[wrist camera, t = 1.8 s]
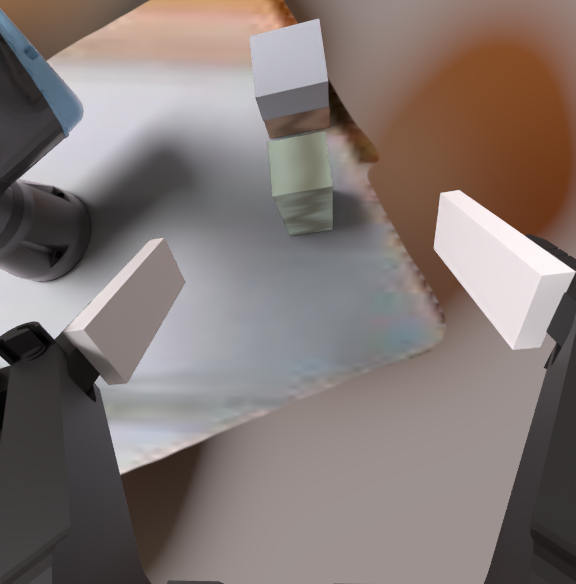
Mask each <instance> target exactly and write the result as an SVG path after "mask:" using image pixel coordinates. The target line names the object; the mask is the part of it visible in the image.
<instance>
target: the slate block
mask: <svg viewBox="0 0 576 584" xmlns="http://www.w3.org/2000/svg"><path fill="white" fill-rule="evenodd" d="M250 47H251V57H252V68H253V78H254V88H255V98H256V101H257V104H258V107H259V110H260V113H261V116H262V119H263V121H265V120H270V119H274V118H279V117H283V116H288V115H293V114H297V113H302V112H307V111H311V110H316V109H321V108H325V107H329V97H328V77H327V70H326V64H325V57H324V49H323V43H322V36H321V29H320V22H319V19H316V20H312V21H308V22H304V23H300V24H296V25H292V26H288V27H285V28H281V29H277V30H273V31H269V32H265V33H261V34H257V35H254V36H250Z"/></svg>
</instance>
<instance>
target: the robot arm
mask: <svg viewBox="0 0 576 584" xmlns="http://www.w3.org/2000/svg"><path fill="white" fill-rule="evenodd" d="M83 112H84V111H83V106H82V103H81V101H80V100H79V98H78V97H77V96H76V95H75V94H74V92H73V91H72V90H71V89H70V88H69V87H68V86H67V84H66V83H65V82H64V81H63V80H62V79H61V78H60V76H59V75H58V74H57V73H56V72H55V71H54V70H53V68H52V67H51V66H50V65H49V64H48V63H47V62H46V60H45V59H44V58H43V57H42V56H41V55H40V54H39V52H38V51H37V50H36V49H35V48H34V47H33V45H32V44H31V43H30V42H29V41H28V40H27V38H26V37H25V36H24V35H23V34H22V33H21V31H20V30H19V29H18V28H17V27H16V26H15V25H14V23H13V22H12V21H11V20H10V19H9V18H8V16H7V15H6V14H5V13H4V12H3V11H2V10H1V8H0V268H1V269H2V270H4V271H6V272H8V273H10V274H12V275H14V276H17V277H20V278H24V279H29V280H35V281H49V280H53V279H56V278H58V277H60V276H62V275H64V274H66V273H67V272H68V271H70V270H71V269H72V268H73V267H74V266H75V265H76V264H77V262H78V261H79V260H80V258H81V257H82V255H83V253H84V252H85V249H86V247H87V244H88V241H89V236H90V220H89V215H88V212H87V210H86V208H85V206H84V205H83V204H82V202H81V201H80V200H79V199H78V198H76V197H75V196H73V195H72V194H70V193H68V192H66V191H64V190H62V189H60V188H57V187H55V186H50V185H45V184H40V183H35V182H30V181H25V180H20V179H19V178H20V177H21V176H22V175H23V174H24V173H25V172H27V171H28V170H29V169H30V168H31V167H32V166H33V165H35V164H36V163H37V162H38V161H39V160H40V159H41V158H43V157H44V156H45V155H46V154H47V153H48V152H49V151H51V150H52V149H53V148H54V147H55V146H56V145H58V144H59V143H60V142H61V141H62V140H63V139H64V138H67V137H68V136H69V132H70V131H71V130H72V129H73V128H74V127H75V126H76V125H77V124H78V123H79V121H80V120H81V119H82V117H83ZM434 250H435V251H436V252H437V254H438V255H439V256H440V257H441V259H442V260H443V261H444V262H445V264H446V265H447V266H448V268H449V269H450V270H451V272H452V273H453V274H454V275H455V277H456V278H457V279H458V280H459V282H460V283H461V284H462V286H463V287H464V288H465V289H466V291H467V292H468V293H469V295H470V296H471V297H472V298H473V300H474V301H475V302H476V304H477V305H478V306H479V307H480V309H481V310H482V311H483V312H484V314H485V315H486V316H487V318H488V319H489V320H490V321H491V323H492V324H493V325H494V327H495V328H496V329H497V330H498V332H499V333H500V334H501V335H502V337H503V338H504V339H505V341H506V342H507V343H508V345H509V346H510V347H511V348H512V350H517V349H528V348H540V347H541V344H542V342H543V340H544V338H545V336H546V334H547V333H548V334H549V335H550V336H551V337H552V338H553V339H554V340H555V341H556V342H557V343H556V345H555V347H554V349H553V351H552V352H551V354H550V356H549V358H548V360H547V362H546V364H545V366H544V368H546V369H547V371H546V374H545V378H544V382H543V385H542V388H541V392H540V395H539V399H538V402H537V406H536V409H535V413H534V416H533V419H532V424H531V427H530V430H529V434H528V437H527V440H526V444H525V447H524V451H523V454H522V458H521V461H520V465H519V468H518V471H517V475H516V478H515V482H514V485H513V489H512V492H511V496H510V499H509V503H508V506H507V510H506V513H505V516H504V520H503V523H502V527H501V531H500V534H499V537H498V541H497V544H496V548H495V551H494V555H493V558H492V561H491V565H490V568H489V571H488V574H487V577H486V580H485V582H484V584H576V259H575V258H573V257H572V256H568V254H567V253H565V252H564V251H562V250H561V249H558V247H556V246H555V245H553V244H552V243H550V242H549V241H547V240H545V239H542V238H539V237H536V236H533V235H530V234H528V235H523V234H521V233H520V232H518V231H517V230H515V229H514V228H513V227H511V226H510V225H508V224H507V223H505V222H504V221H503V220H501V219H500V218H498V217H497V216H495V215H494V214H492V213H491V212H490V211H488V210H487V209H485V208H484V207H483V206H481V205H480V204H478V203H477V202H475V201H474V200H473V199H471V198H470V197H468V196H467V195H465V194H464V193H462V192H461V191H460V190H457V191H451V192H444V193H441V194H440V202H439V210H438V218H437V226H436V234H435V242H434ZM184 284H185V280H184V278H183V276H182V274H181V272H180V270H179V268H178V265H177V263H176V261H175V259H174V257H173V255H172V253H171V251H170V249H169V246H168V244H167V242H166V240H165V238H159V239H152V240H150V241H149V242H148V243H147V244H146V245H145V246H144V247H143V248H142V249H141V250H140V251H139V252H138V253H137V254H136V255H135V256H134V257H133V259H132V260H131V261H130V262H129V263H128V264H127V265H126V266H125V267H124V268H123V269H122V270H121V271H120V272H119V273H118V274H117V275H116V276H115V277H114V278H113V279H112V281H111V282H110V283H109V284H108V285H107V286H106V287H105V288H104V289H103V290H102V291H101V292H100V293H99V294H98V295H97V296H96V297H95V298H94V299H93V300H92V301H91V302H90V303H89V304H88V305H87V306H86V307H85V308H84V309H83V311H82V312H81V313H80V314H79V315H78V316H77V317H76V318H75V319H74V320H73V321H72V322H71V323H70V324H69V325H68V326H67V327H66V328H65V329H64V330H63V331H62V332H61V334H60V335H59V336H58V337H57V338H56V339H55V340H54V339H53V338H52V337H51V336H50V334H49V333H48V332H47V331H46V330H45V329H44V328H43V327H42V326H41V325H40V324H39V323H38V322H29V323H25V324H22V325H20V326H17V327H15V328H13V329H11V330H9V331H8V332H6V333H5V334H3V335H2V336H0V356H1V357H2V358H3V359H4V360H5V361H7V362H8V363H9V364H10V366H7V367H4V368H1V369H0V584H151V582H150V581H149V579H148V578H147V577H146V575H145V573H144V571H143V568H142V566H141V562H140V558H139V553H138V549H137V545H136V541H135V537H134V532H133V528H132V524H131V520H130V515H129V512H128V507H127V503H126V499H125V495H124V490H123V486H122V482H121V477H120V473H119V469H118V465H117V461H116V456H115V452H114V448H113V444H112V439H111V435H110V431H109V427H108V423H107V418H106V414H105V410H104V406H103V401H102V397H101V393H100V389H99V388H98V386H97V385H96V384H95V383H94V382H95V381H96V379H97V378H98V376H99V375H100V376H101V377H102V378H103V379H104V380H105V381H106V382H107V384H108V385H113V384H125V383H128V381H129V379H130V378H131V376H132V374H133V372H134V371H135V369H136V367H137V365H138V364H139V362H140V360H141V359H142V357H143V355H144V353H145V352H146V350H147V348H148V346H149V345H150V343H151V341H152V339H153V338H154V336H155V334H156V333H157V331H158V329H159V327H160V326H161V324H162V322H163V320H164V319H165V317H166V315H167V314H168V312H169V310H170V308H171V307H172V305H173V303H174V301H175V300H176V298H177V296H178V295H179V293H180V291H181V289H182V288H183V286H184ZM167 584H223V583H221V582H217V581H168V582H167Z"/></svg>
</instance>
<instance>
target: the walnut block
mask: <svg viewBox="0 0 576 584" xmlns="http://www.w3.org/2000/svg"><path fill="white" fill-rule="evenodd" d="M264 122H265V125H266V128H267V131H268V134H269V137H270V138H276V137H281V136H286V135H291V134H297V133H302V132H307V131H312V130H318V129H323V128H328V127H330V106H329V107H325V108H321V109H316V110H311V111H307V112H302V113H297V114H293V115H288V116H283V117H279V118H274V119H270V120H265V121H264Z"/></svg>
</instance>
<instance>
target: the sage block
mask: <svg viewBox="0 0 576 584" xmlns="http://www.w3.org/2000/svg"><path fill="white" fill-rule="evenodd" d="M267 145H268V155H269V166H270V176H271V187H272V197H273V199H274V201H275V203H276V206H277V208H278V210H279V212H280V215H281V217H282V219H283V221H284V224H285V226H286V228H287V231H288V233H289V235H290V236H293V235H300V234H307V233H314V232H320V231H327V230H333V186H332V178H331V170H330V163H329V155H328V148H327V140H326V132H325V131H323V132H318V133H313V134H308V135H302V136H297V137H292V138H287V139H282V140H277V141H272V142H267Z"/></svg>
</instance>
